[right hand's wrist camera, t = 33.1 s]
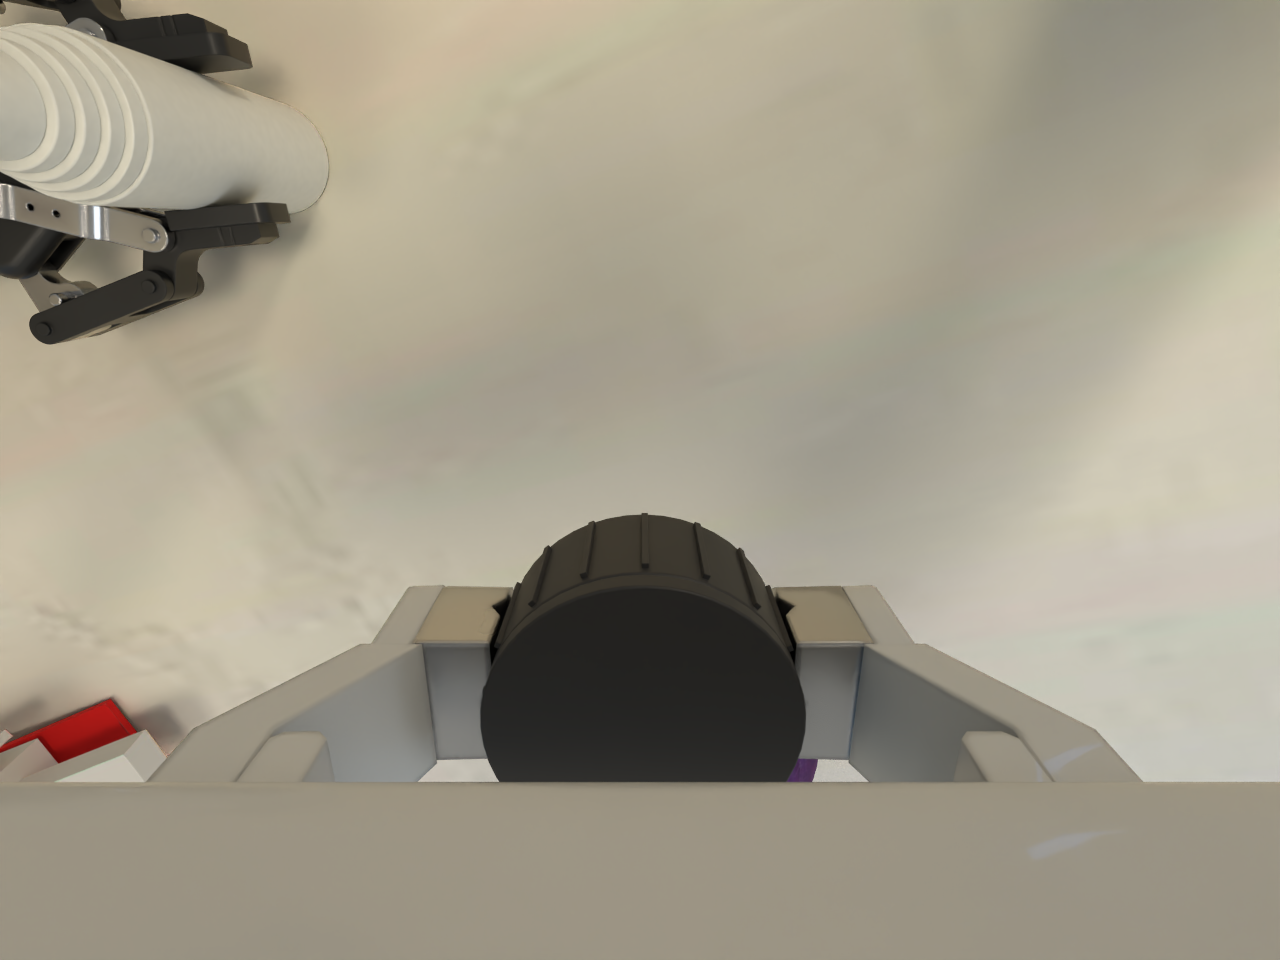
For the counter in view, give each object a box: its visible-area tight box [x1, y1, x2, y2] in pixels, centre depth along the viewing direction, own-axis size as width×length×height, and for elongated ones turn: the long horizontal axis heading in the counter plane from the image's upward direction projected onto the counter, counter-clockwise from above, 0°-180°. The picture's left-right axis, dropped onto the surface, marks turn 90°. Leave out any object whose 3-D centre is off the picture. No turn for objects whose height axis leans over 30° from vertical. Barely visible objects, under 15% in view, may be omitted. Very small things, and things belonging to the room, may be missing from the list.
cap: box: [480, 513, 806, 782], centre depth 9 cm, size 4×4×2 cm
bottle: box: [0, 23, 329, 214], centre depth 23 cm, size 5×5×18 cm
